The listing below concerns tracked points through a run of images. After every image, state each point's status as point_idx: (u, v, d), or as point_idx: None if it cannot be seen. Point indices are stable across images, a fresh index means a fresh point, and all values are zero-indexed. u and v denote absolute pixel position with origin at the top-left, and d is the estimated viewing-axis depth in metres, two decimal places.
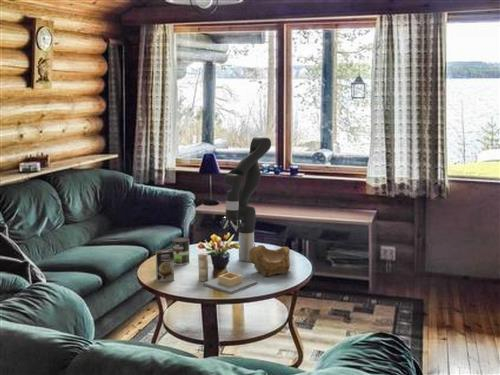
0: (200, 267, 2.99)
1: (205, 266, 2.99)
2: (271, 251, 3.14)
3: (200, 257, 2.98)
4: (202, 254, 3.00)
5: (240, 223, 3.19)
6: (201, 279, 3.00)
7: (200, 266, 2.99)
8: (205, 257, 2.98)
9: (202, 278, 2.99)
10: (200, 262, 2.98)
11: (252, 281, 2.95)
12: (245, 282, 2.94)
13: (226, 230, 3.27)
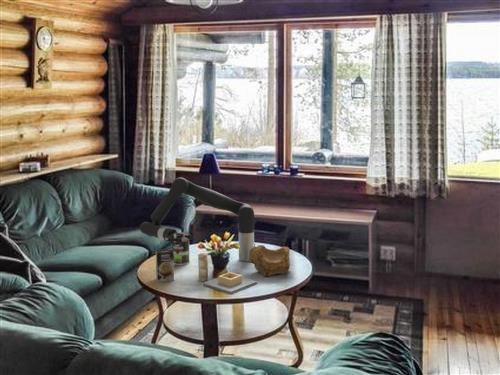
0: (200, 267, 2.99)
1: (205, 266, 2.99)
2: (271, 251, 3.14)
3: (200, 257, 2.98)
4: (202, 254, 3.00)
5: (167, 239, 3.07)
6: (201, 279, 3.00)
7: (200, 266, 2.99)
8: (205, 257, 2.98)
9: (202, 278, 2.99)
10: (200, 262, 2.98)
11: (252, 281, 2.95)
12: (245, 282, 2.94)
13: (188, 237, 3.11)
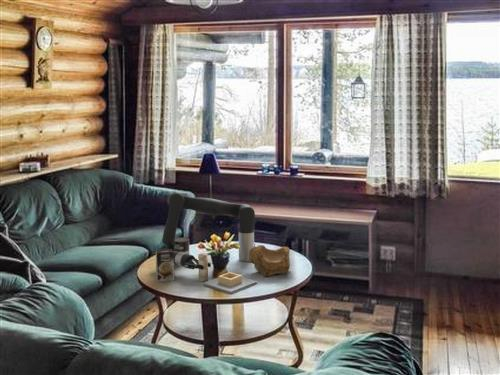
0: None
1: (205, 266, 2.99)
2: (271, 251, 3.14)
3: (200, 257, 2.98)
4: (202, 254, 3.00)
5: (187, 266, 3.00)
6: (201, 279, 3.00)
7: None
8: (205, 257, 2.98)
9: (202, 278, 2.99)
10: (200, 262, 2.98)
11: (252, 281, 2.95)
12: (245, 282, 2.94)
13: None
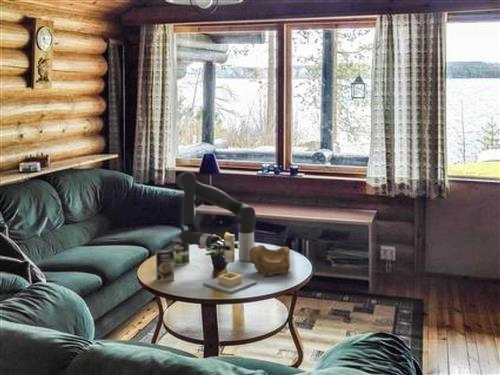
0: None
1: (232, 247, 2.89)
2: (271, 251, 3.14)
3: (227, 238, 2.88)
4: (229, 235, 2.91)
5: (213, 247, 2.90)
6: (227, 260, 2.90)
7: None
8: (232, 238, 2.88)
9: (229, 259, 2.90)
10: (227, 243, 2.89)
11: (252, 281, 2.95)
12: (245, 282, 2.94)
13: None
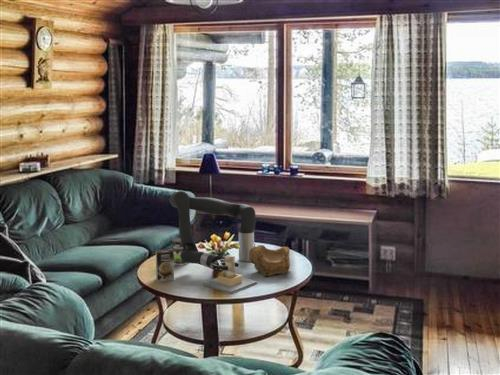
0: None
1: (232, 268, 2.91)
2: (271, 251, 3.14)
3: (227, 259, 2.90)
4: (229, 256, 2.93)
5: (211, 266, 2.92)
6: None
7: None
8: (232, 259, 2.90)
9: None
10: (227, 264, 2.91)
11: (252, 281, 2.95)
12: (245, 282, 2.94)
13: None
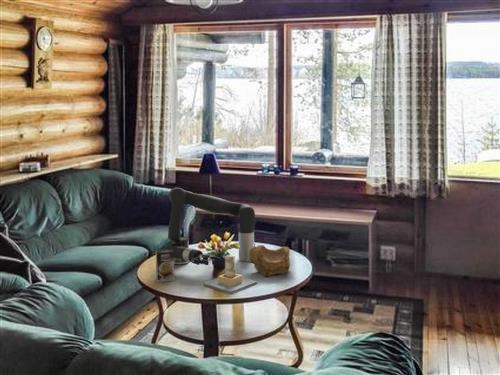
0: (227, 269, 2.91)
1: (232, 268, 2.91)
2: (271, 251, 3.14)
3: (227, 259, 2.90)
4: (229, 256, 2.93)
5: (193, 261, 3.01)
6: None
7: (227, 268, 2.91)
8: (232, 259, 2.91)
9: None
10: (227, 264, 2.91)
11: (252, 281, 2.95)
12: (245, 282, 2.94)
13: (215, 258, 3.05)
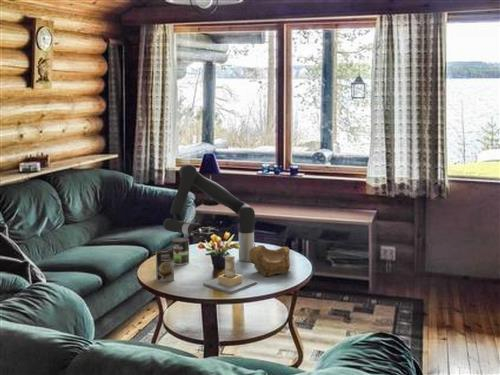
0: (227, 269, 2.91)
1: (232, 268, 2.91)
2: (271, 251, 3.14)
3: (227, 259, 2.90)
4: (229, 256, 2.93)
5: (192, 234, 2.99)
6: None
7: (227, 268, 2.91)
8: (232, 259, 2.91)
9: None
10: (227, 264, 2.91)
11: (252, 281, 2.95)
12: (245, 282, 2.94)
13: (214, 231, 3.03)
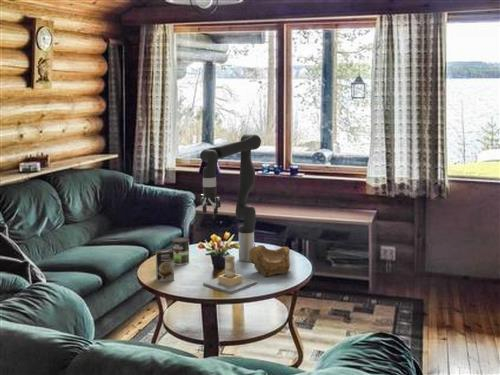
0: (227, 269, 2.91)
1: (232, 268, 2.91)
2: (271, 251, 3.14)
3: (227, 259, 2.90)
4: (229, 256, 2.93)
5: (218, 200, 3.09)
6: None
7: (227, 268, 2.91)
8: (232, 259, 2.91)
9: None
10: (227, 264, 2.91)
11: (252, 281, 2.95)
12: (245, 282, 2.94)
13: (205, 208, 3.17)
